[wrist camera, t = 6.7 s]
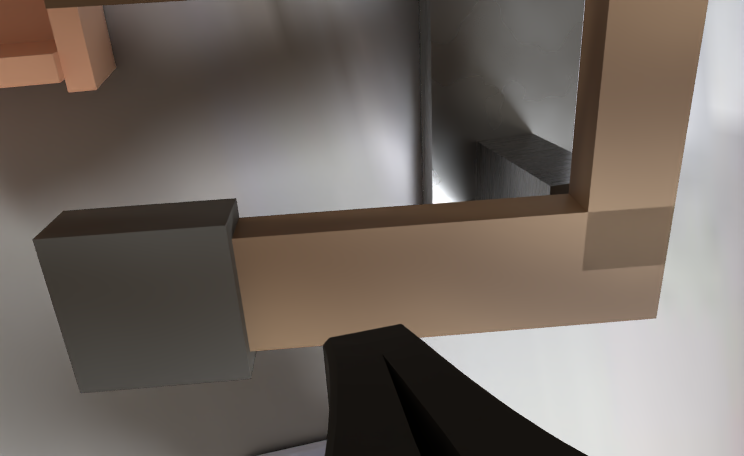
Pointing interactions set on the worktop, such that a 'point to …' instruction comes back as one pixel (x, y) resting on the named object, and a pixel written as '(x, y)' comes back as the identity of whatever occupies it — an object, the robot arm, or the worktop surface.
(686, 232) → the worktop surface
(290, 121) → the worktop surface
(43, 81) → the open box
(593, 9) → the wooden tray
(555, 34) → the stand
